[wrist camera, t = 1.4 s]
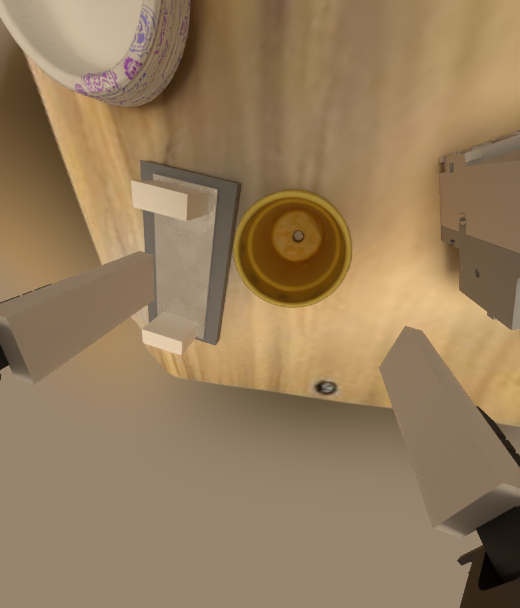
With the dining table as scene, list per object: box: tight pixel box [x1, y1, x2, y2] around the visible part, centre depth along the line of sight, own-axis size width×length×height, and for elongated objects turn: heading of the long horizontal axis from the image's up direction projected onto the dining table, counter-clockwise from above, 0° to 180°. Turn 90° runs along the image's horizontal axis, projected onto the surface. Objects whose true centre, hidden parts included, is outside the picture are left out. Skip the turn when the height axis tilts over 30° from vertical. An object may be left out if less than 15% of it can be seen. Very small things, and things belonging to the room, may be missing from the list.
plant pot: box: [233, 190, 352, 308], centre depth 24 cm, size 10×10×10 cm
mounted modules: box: [131, 180, 209, 355], centre depth 30 cm, size 21×6×5 cm, turn 168°
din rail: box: [153, 174, 220, 339], centre depth 32 cm, size 22×8×1 cm, turn 168°
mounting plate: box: [140, 160, 241, 345], centre depth 33 cm, size 24×12×2 cm, turn 168°
